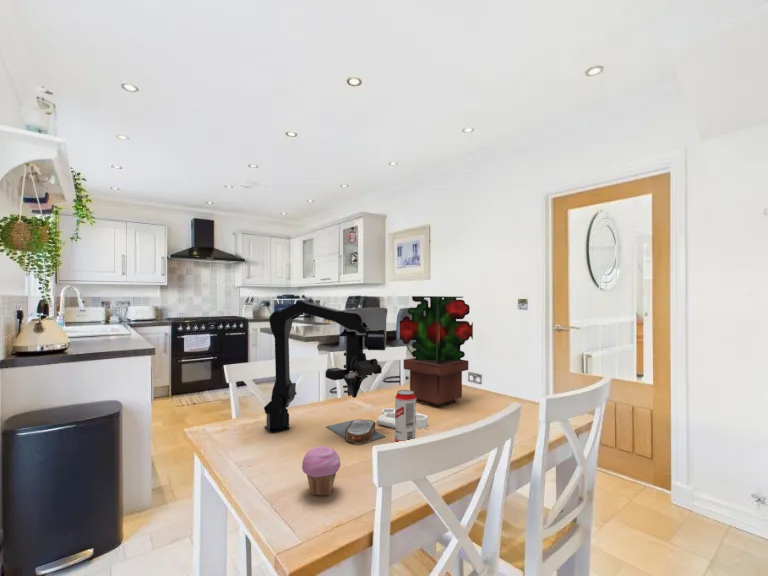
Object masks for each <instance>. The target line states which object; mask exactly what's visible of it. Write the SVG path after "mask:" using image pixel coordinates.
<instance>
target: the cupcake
mask: <svg viewBox="0 0 768 576" xmlns="http://www.w3.org/2000/svg"><path fill="white" fill-rule="evenodd" d="M340 468H341V459H340V455H339V454H338V452H337V450H335V449H333V448H331V447H329V446H324V445H323V446H322V445H320V446H317V447H313V448H310V449H309V450H308V451H307V452H306V453H305V454H304V457H303V458H302V464H301V469H302V472H303V473H304V474H305V475H306V477H307V480H308V486H309V491H310V493H311V494H312V495H313V496H329V495H330V494H331V493H332V491H333V486H334V484H335V483H334V482H335V479H336V474H337V472H339V470H340Z"/></svg>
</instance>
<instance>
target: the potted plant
mask: <svg viewBox="0 0 768 576" xmlns="http://www.w3.org/2000/svg"><path fill="white" fill-rule="evenodd" d="M426 298H427V299H426ZM463 298H464V296H444V295H443V296H439V295H438V296H434V295H432V296H431V295H429V296H427V295H426V296H425V295H424V296H423V295H419V296H418V295H415V296H414V295H412V296H411V300H412V301H413V302H415V303H418V302H419V303H418V304H417V305H416V307H409V308H408V309H407V313H408V314H409V315H411V318H410V316H408V315H405V316H404V317H402V320H399V340H401V341H402V343H403V344H404V345H409V344H410V342H411V341H414V342H412V343H411V347H412V348H413V349H415V350H413V351H412V352H411V356H412V358H405V359H403V370H408V371H409V390H411V391H413V392H414V395H415V398H416V402H418V401H419V402H418V403H421V402H423V403H422V404H425V403H426V404H425V405H428V404H429V406H433V407H434V408H440V407H442V406H447V405H449V403H450V404H453V403H456V400H458V399H461V398H462V397H463V372H465V371H469V360H467V359H466V360H465V359H462V358H464V357H465V355H466V354H465V352H464V351H463V350H461V346H463V345H464V344H465V343H466V342H467V341H468V340H469V339H470V338H471V340H473V338H474V334H473V333H474V331H473V330H474V329H473V327H474V325H473V324H474V322H473V321H472V323H470V322H469V321H468V320H464V319H465V317H466V316H467V315H470V307H471V306H470V305H469V304H468V303H466V302H465V300H463ZM428 299H429V301H428ZM429 305H430V307H429ZM424 313H425V314H424ZM452 402H453V403H452ZM446 404H447V405H446Z"/></svg>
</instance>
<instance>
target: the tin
mask: <svg viewBox="0 0 768 576" xmlns="http://www.w3.org/2000/svg"><path fill="white" fill-rule="evenodd" d="M353 420H354V421H352V422H351V423H350V425H349V426H348V427H347V429H346V431H345V438H344V440H345V441H346V442H349V443H352V444H353V443H363V444H365V443H364V442H367V441H369V440H371V438H372V436H373V434H374V432H375V431H376V422H375V421H374V420H372V419H362V418H359V419H353ZM367 443H368V442H367Z"/></svg>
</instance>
